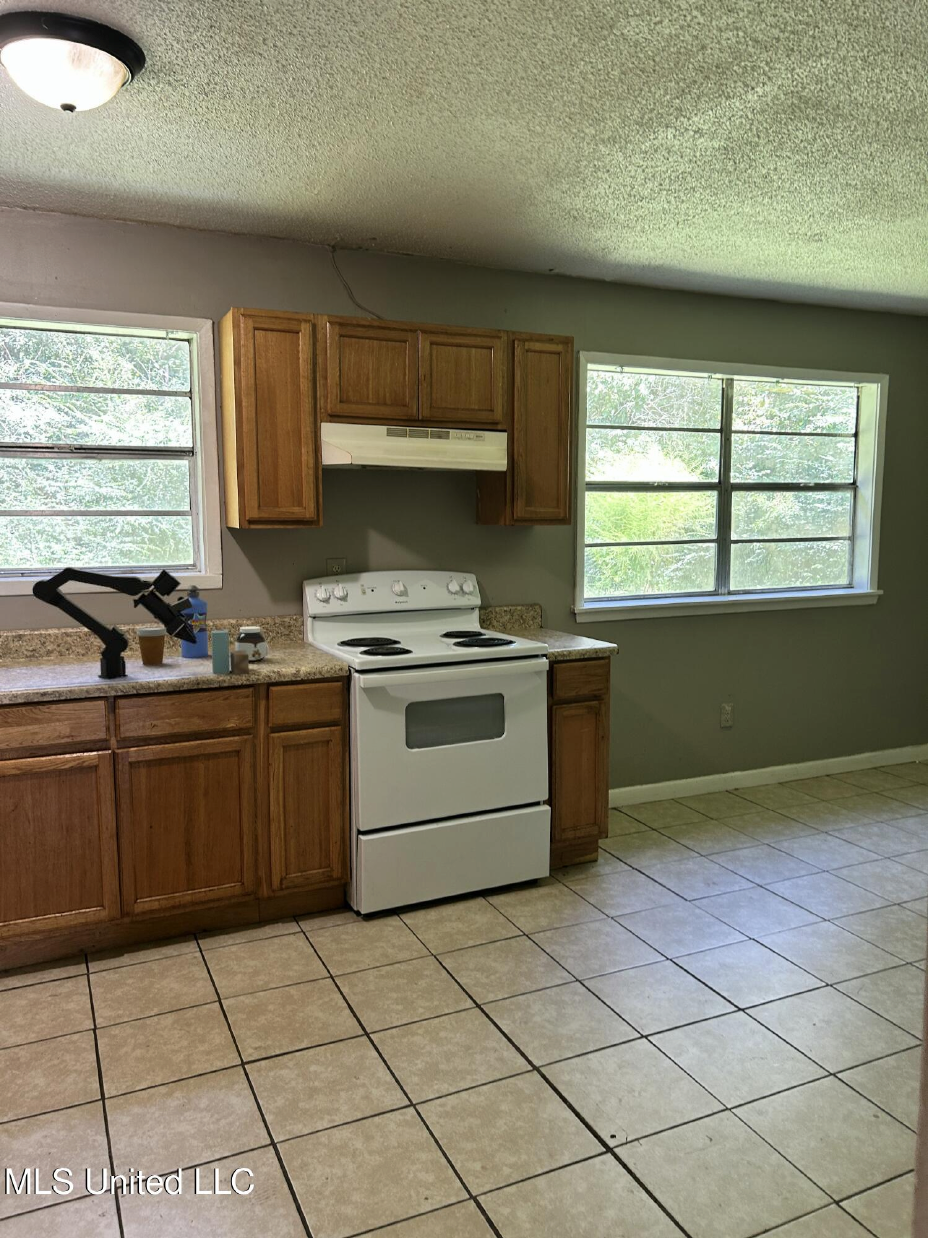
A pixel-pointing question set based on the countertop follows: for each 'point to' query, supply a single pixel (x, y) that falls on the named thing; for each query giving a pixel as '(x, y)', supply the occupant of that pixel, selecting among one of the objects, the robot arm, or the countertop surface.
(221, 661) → the teal block
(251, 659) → the spread jar
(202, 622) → the water bottle
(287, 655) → the countertop surface
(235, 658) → the block
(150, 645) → the disposable coffee cup
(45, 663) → the countertop surface
